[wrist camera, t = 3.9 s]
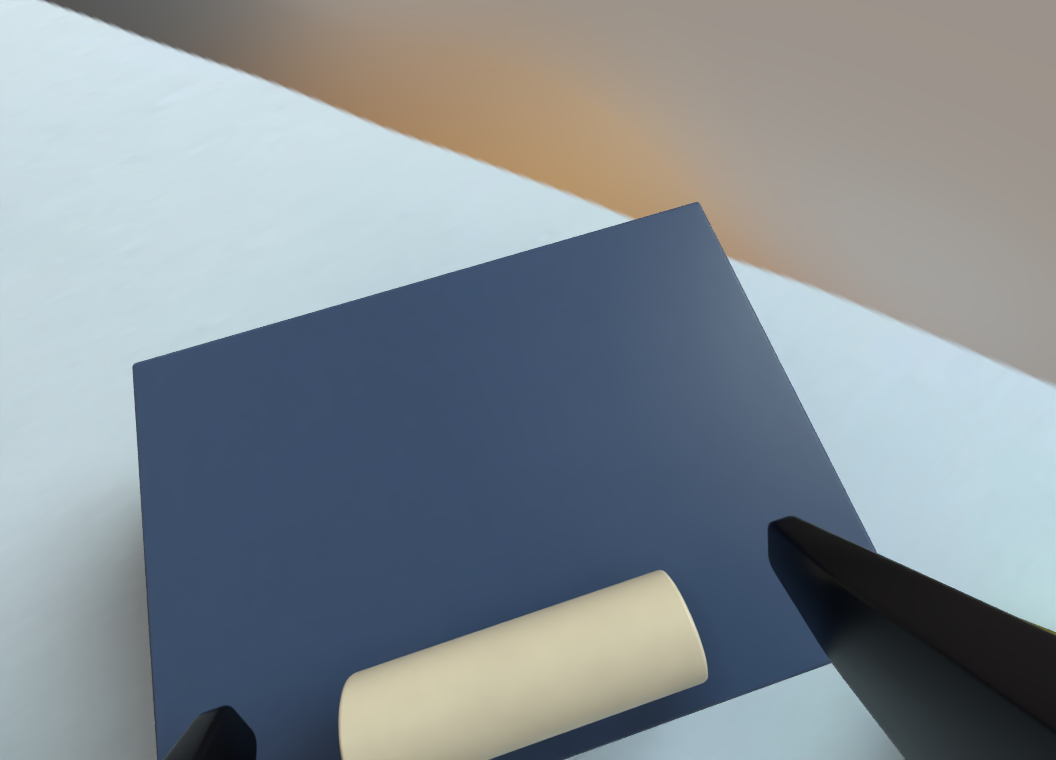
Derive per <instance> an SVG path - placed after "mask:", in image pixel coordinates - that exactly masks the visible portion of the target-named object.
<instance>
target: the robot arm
mask: <svg viewBox="0 0 1056 760" xmlns="http://www.w3.org/2000/svg"><path fill="white" fill-rule="evenodd" d="M767 531H768V558H769V562H770V565H771V567H772V569H773V571H774V573H775V574H776V576H777V578H778V579H779V581H780V582H781V584H782V586H783V587H784V589H785V590H786V592H787V594H788V595H789V597H790V598H791V600H792V602H793V603H794V605H795V606H796V608H797V610H798V611H799V613H800V614H801V616H802V618H803V619H804V621H805V622H806V624H807V626H808V627H809V629H810V630H811V632H812V634H813V635H814V637H815V638H816V640H817V642H818V643H819V645H820V646H821V648H822V649H823V651H824V652H825V654H826V655H827V657H828V658H829V660H830V661H831V663H832V664H833V665H834V667H835V668H836V669H837V671H838V672H839V673H840V675H841V676H842V677H843V679H844V680H845V681H846V683H847V684H848V685H849V686H850V688H851V689H852V690H853V692H854V693H855V694H856V696H857V697H858V698H859V700H860V701H861V702H862V703H863V705H864V706H865V707H866V709H867V710H868V711H869V713H870V714H871V715H872V717H873V718H874V719H875V720H876V722H877V723H878V724H879V726H880V727H881V728H882V730H883V731H884V732H885V734H886V735H887V736H888V737H889V739H890V740H891V741H892V743H893V744H894V745H895V747H896V748H897V749H898V751H899V752H900V753H901V754H902V756H903V757H904V758H905V760H1056V635H1055V634H1053V633H1051V632H1048V631H1046V630H1044V629H1042V628H1040V627H1037V626H1035V625H1033V624H1031V623H1029V622H1027V621H1024V620H1022V619H1020V618H1018V617H1016V616H1013V615H1011V614H1009V613H1007V612H1005V611H1002V610H1000V609H998V608H996V607H994V606H991V605H989V604H987V603H985V602H983V601H981V600H978V599H976V598H974V597H972V596H970V595H967V594H965V593H963V592H961V591H959V590H956V589H954V588H952V587H950V586H948V585H945V584H943V583H941V582H939V581H937V580H934V579H932V578H930V577H928V576H926V575H924V574H921V573H919V572H917V571H915V570H913V569H910V568H908V567H906V566H904V565H902V564H899V563H897V562H895V561H893V560H891V559H888V558H886V557H884V556H882V555H880V554H877V553H875V552H873V551H871V550H869V549H867V548H864V547H862V546H860V545H858V544H856V543H853V542H851V541H849V540H847V539H845V538H842V537H840V536H838V535H836V534H834V533H831V532H829V531H827V530H825V529H823V528H820V527H818V526H816V525H814V524H812V523H810V522H807V521H805V520H803V519H801V518H799V517H796V516H786V517H783V518H780V519H777V520H774V521H772V522H770V523H769V525H768V529H767ZM256 755H257V741H256V736H255V734H254V732H253V730H252V729H251V728H250V727H249V726H248V724H247V723H246V722H245V721H244V720H243V719H242V717H241V716H240V715H239V714H238V713H237V712H236V710H235V709H234V708H233V707H231V706H228V705H223V706H220V707H217V708H214V709H211V710H208V711H206V712H203V713H201V714H200V715H199V716H198V717H196V718H195V720H194V721H193V722H192V723H191V724H190V726H189V727H188V728H187V730H186V731H185V732H184V733H183V735H182V736H181V737H180V739H179V740H178V741H177V742H176V744H175V745H174V746H173V748H172V749H171V750H170V751H169V753H168V754H167V755H166V756H165V758H164V759H163V760H256Z"/></svg>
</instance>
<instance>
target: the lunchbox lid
mask: <svg viewBox="0 0 1056 760" xmlns="http://www.w3.org/2000/svg"><path fill="white" fill-rule="evenodd" d="M133 383H134V399H135V415H136V431H137V446H138V462H139V478H140V494H141V510H142V526H143V541H144V557H145V573H146V589H147V605H148V621H149V636H150V652H151V668H152V684H153V700H154V716H155V731H156V747H157V760H163V759H164V758H165V756H166V755H167V754H168V753H169V751H170V750H171V749H172V748H173V746H174V745H175V744H176V742H177V741H178V740H179V739H180V737H181V736H182V735H183V733H184V732H185V731H186V730H187V728H188V727H189V726H190V724H191V723H192V722H193V721H194V720H195V718H196V717H198V716H199V715H200V714H201V713H203V712H206V711H208V710H211V709H214V708H217V707H220V706H223V705H228V706H231V707H233V708H234V709H235V710H236V712H237V713H238V714H239V715H240V716H241V717H242V719H243V720H244V721H245V722H246V723H247V724H248V726H249V727H250V728H251V729H252V730H253V732H254V734H255V736H256V741H257V755H256V760H564V759H567V758H570V757H572V756H575V755H578V754H581V753H584V752H586V751H589V750H592V749H595V748H597V747H600V746H603V745H606V744H608V743H611V742H614V741H617V740H620V739H622V738H625V737H628V736H631V735H633V734H636V733H639V732H642V731H644V730H647V729H650V728H653V727H656V726H658V725H661V724H664V723H667V722H669V721H672V720H675V719H678V718H680V717H683V716H686V715H689V714H692V713H694V712H697V711H700V710H703V709H705V708H708V707H711V706H714V705H716V704H719V703H722V702H725V701H727V700H730V699H733V698H736V697H739V696H741V695H744V694H747V693H750V692H752V691H755V690H758V689H761V688H763V687H766V686H769V685H772V684H775V683H777V682H780V681H783V680H786V679H788V678H791V677H794V676H797V675H799V674H802V673H805V672H808V671H811V670H813V669H816V668H819V667H822V666H824V665H827V664H830V663H831V661H830V660H829V658H828V657H827V655H826V654H825V652H824V651H823V649H822V648H821V646H820V645H819V643H818V642H817V640H816V638H815V637H814V635H813V634H812V632H811V630H810V629H809V627H808V626H807V624H806V622H805V621H804V619H803V618H802V616H801V614H800V613H799V611H798V610H797V608H796V606H795V605H794V603H793V602H792V600H791V598H790V597H789V595H788V594H787V592H786V590H785V589H784V587H783V586H782V584H781V582H780V581H779V579H778V578H777V576H776V574H775V573H774V571H773V569H772V567H771V565H770V562H769V558H768V531H767V529H768V525H769V523H770V522H772V521H774V520H777V519H780V518H783V517H786V516H796V517H799V518H801V519H803V520H805V521H807V522H810V523H812V524H814V525H816V526H818V527H820V528H823V529H825V530H827V531H829V532H831V533H834V534H836V535H838V536H840V537H842V538H845V539H847V540H849V541H851V542H853V543H856V544H858V545H860V546H862V547H864V548H867V549H869V550H871V551H873V552H875V553H877V552H876V550H875V548H874V546H873V544H872V542H871V540H870V538H869V536H868V534H867V532H866V530H865V528H864V526H863V524H862V522H861V520H860V518H859V516H858V514H857V513H856V511H855V509H854V507H853V505H852V503H851V501H850V499H849V497H848V495H847V493H846V491H845V489H844V487H843V485H842V483H841V481H840V479H839V477H838V475H837V473H836V471H835V469H834V467H833V465H832V463H831V461H830V459H829V457H828V455H827V453H826V451H825V450H824V448H823V446H822V444H821V442H820V440H819V438H818V436H817V434H816V432H815V430H814V428H813V426H812V424H811V422H810V420H809V418H808V416H807V414H806V412H805V410H804V408H803V406H802V404H801V402H800V400H799V398H798V396H797V394H796V392H795V390H794V388H793V386H792V385H791V383H790V381H789V379H788V377H787V375H786V373H785V371H784V369H783V367H782V365H781V363H780V361H779V359H778V357H777V355H776V353H775V351H774V349H773V347H772V345H771V343H770V341H769V339H768V337H767V335H766V333H765V331H764V329H763V327H762V325H761V323H760V321H759V320H758V318H757V316H756V314H755V312H754V310H753V308H752V306H751V304H750V302H749V300H748V298H747V296H746V294H745V292H744V290H743V288H742V286H741V284H740V282H739V280H738V278H737V276H736V274H735V272H734V270H733V268H732V266H731V264H730V262H729V260H728V258H727V257H726V255H725V253H724V251H723V249H722V247H721V245H720V243H719V241H718V239H717V237H716V235H715V233H714V231H713V229H712V227H711V226H710V223H709V221H708V219H707V217H706V215H705V213H704V211H703V209H702V207H701V205H700V204H699V203H698V202H695V203H692V204H688V205H685V206H681V207H678V208H674V209H671V210H668V211H664V212H660V213H657V214H653V215H650V216H646V217H643V218H639V219H636V220H632V221H629V222H625V223H622V224H618V225H615V226H611V227H608V228H605V229H601V230H598V231H594V232H591V233H587V234H584V235H580V236H577V237H573V238H570V239H566V240H563V241H559V242H556V243H552V244H549V245H545V246H542V247H538V248H535V249H531V250H528V251H524V252H521V253H517V254H514V255H511V256H507V257H504V258H500V259H497V260H493V261H490V262H486V263H483V264H479V265H476V266H472V267H469V268H465V269H462V270H458V271H455V272H451V273H448V274H444V275H441V276H437V277H434V278H430V279H427V280H424V281H420V282H417V283H413V284H410V285H406V286H403V287H399V288H396V289H392V290H389V291H385V292H382V293H378V294H375V295H371V296H368V297H364V298H361V299H357V300H354V301H350V302H347V303H343V304H340V305H336V306H333V307H330V308H326V309H323V310H319V311H316V312H312V313H309V314H305V315H302V316H298V317H295V318H291V319H288V320H284V321H281V322H277V323H274V324H270V325H267V326H263V327H260V328H256V329H253V330H249V331H246V332H243V333H239V334H236V335H232V336H229V337H225V338H222V339H218V340H215V341H211V342H208V343H204V344H201V345H197V346H194V347H190V348H187V349H183V350H180V351H176V352H173V353H169V354H166V355H162V356H159V357H155V358H152V359H149V360H145V361H142V362H138V363H135V364H134V365H133Z"/></svg>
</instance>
